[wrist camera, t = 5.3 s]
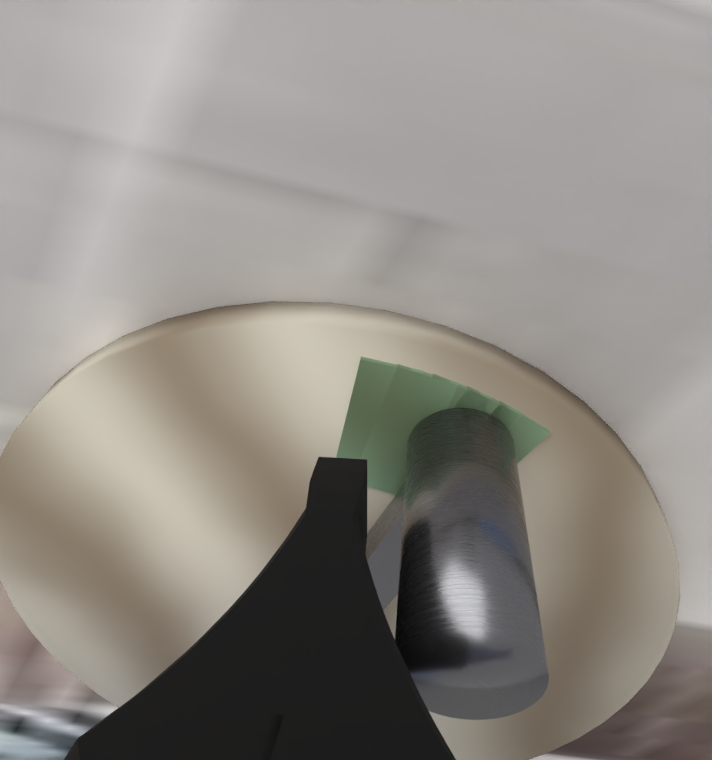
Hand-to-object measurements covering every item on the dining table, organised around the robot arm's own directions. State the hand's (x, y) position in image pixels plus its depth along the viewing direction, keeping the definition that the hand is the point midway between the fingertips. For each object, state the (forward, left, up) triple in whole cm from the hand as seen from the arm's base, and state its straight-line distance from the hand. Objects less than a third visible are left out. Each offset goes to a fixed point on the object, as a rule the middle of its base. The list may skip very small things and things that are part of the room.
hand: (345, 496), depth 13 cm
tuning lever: (-1, -4, -2) cm, 5 cm away
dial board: (-4, -7, -4) cm, 9 cm away
